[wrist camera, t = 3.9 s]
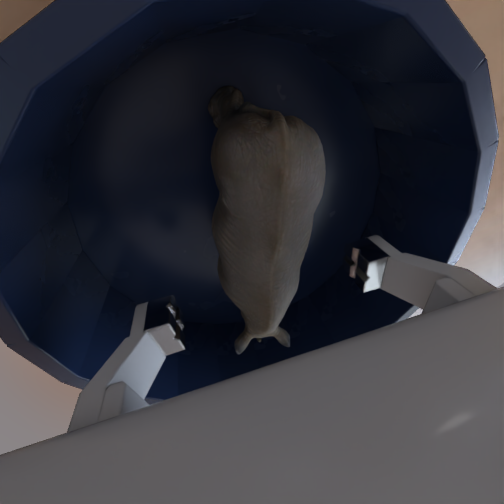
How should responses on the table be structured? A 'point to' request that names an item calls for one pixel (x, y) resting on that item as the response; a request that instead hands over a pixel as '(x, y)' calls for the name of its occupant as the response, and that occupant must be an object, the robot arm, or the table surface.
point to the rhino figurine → (262, 208)
